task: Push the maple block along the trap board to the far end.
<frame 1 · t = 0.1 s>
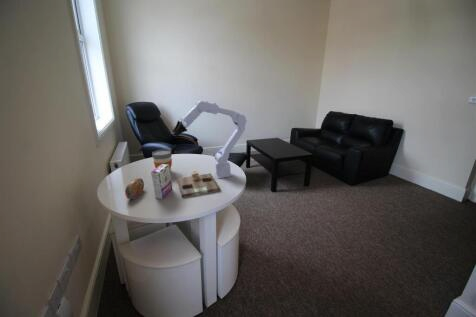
hand: (174, 133, 128), 32 cm above the table, tool tilted 50°, fingers open, 7 cm apart
trap board: (197, 185, 134), on the table
reusable coffee cup: (164, 172, 154), on the table
brown flattened oblong: (136, 195, 124), on the table
maple block: (195, 178, 140), point 2 cm above the table, touching trap board
candy bar box: (164, 194, 125), on the table
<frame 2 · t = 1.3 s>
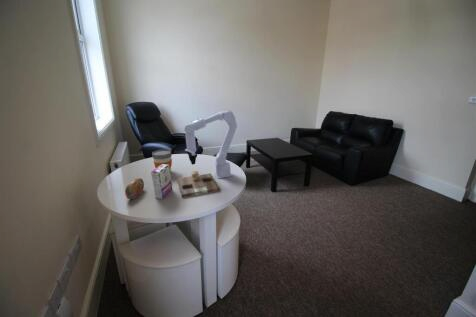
hand: (192, 162, 143), 10 cm above the table, tool pointing down, fingers open, 6 cm apart
nothing on the table moved.
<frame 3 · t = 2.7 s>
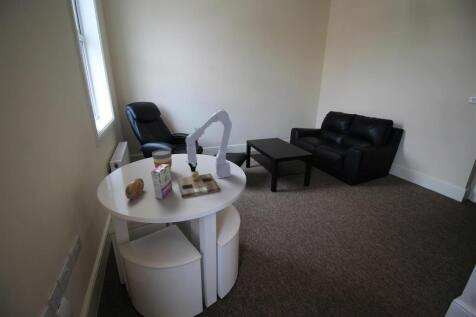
hand: (193, 172, 145), 3 cm above the table, tool pointing down, fingers closed
nothing on the table moved.
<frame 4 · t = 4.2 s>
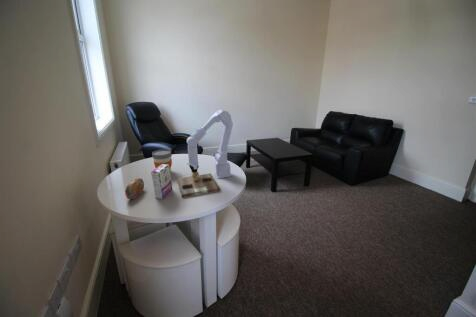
hand: (194, 175, 141), 3 cm above the table, tool pointing down, fingers closed
maple block: (195, 179, 139), point 2 cm above the table, touching gripper
everything else where it was.
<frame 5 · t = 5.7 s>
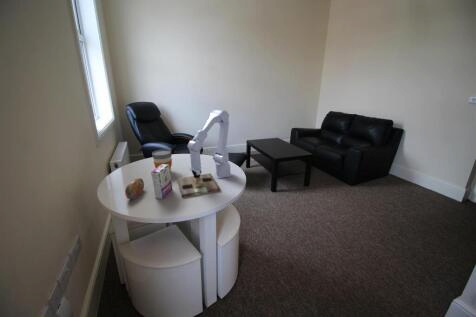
hand: (197, 181, 134), 3 cm above the table, tool pointing down, fingers closed
maple block: (198, 184, 131), point 2 cm above the table, touching gripper
everything else where it was.
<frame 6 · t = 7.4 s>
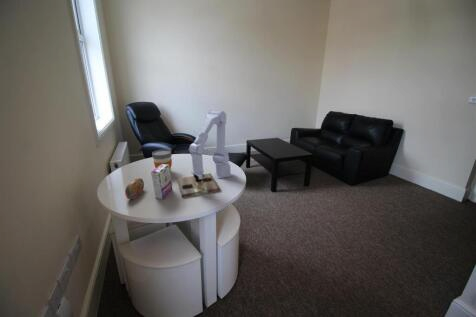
hand: (199, 185, 128), 3 cm above the table, tool pointing down, fingers closed
maple block: (200, 189, 126), point 2 cm above the table, touching gripper
everything else where it was.
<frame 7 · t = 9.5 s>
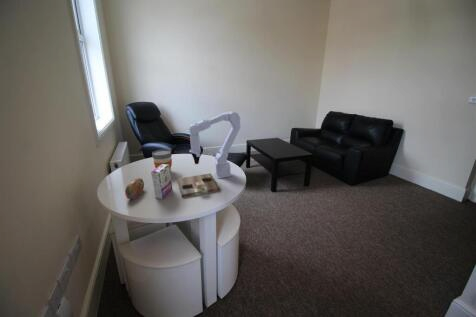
hand: (196, 163, 141), 10 cm above the table, tool pointing down, fingers closed
maple block: (200, 189, 126), point 2 cm above the table, touching trap board
everything else where it was.
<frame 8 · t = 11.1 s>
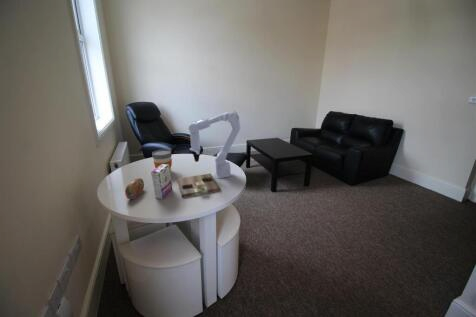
hand: (196, 161, 145), 10 cm above the table, tool pointing down, fingers closed
nothing on the table moved.
at the end: maple block 0.4 cm from the target spot on the trap board, point 2.0 cm above the trap board's base; maple block tilted 0° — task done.
